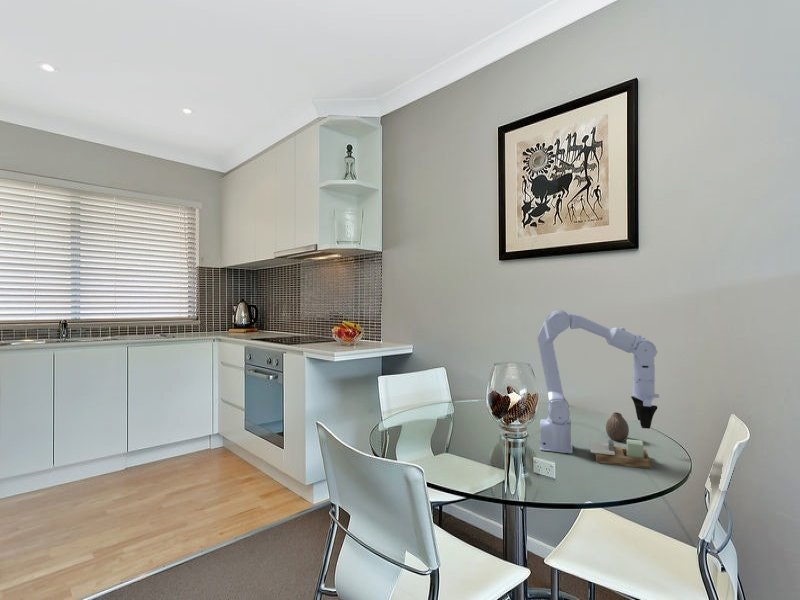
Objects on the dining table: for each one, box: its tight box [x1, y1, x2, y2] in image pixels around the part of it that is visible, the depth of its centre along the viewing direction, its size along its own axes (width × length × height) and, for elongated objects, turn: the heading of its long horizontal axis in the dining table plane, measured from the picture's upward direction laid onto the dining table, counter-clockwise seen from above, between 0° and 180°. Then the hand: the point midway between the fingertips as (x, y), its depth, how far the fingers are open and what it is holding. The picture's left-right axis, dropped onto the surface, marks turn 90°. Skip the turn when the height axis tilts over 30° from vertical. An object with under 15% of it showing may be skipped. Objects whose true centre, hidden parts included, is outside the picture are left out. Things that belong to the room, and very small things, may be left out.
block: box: [626, 438, 645, 458], centre depth 128 cm, size 4×4×5 cm
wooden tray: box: [594, 445, 652, 470], centre depth 130 cm, size 14×9×2 cm, turn 68°
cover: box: [589, 439, 615, 455], centre depth 132 cm, size 6×8×2 cm
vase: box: [605, 411, 630, 442], centre depth 147 cm, size 7×7×9 cm
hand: (643, 424), depth 131 cm, fingers open, 7 cm apart
